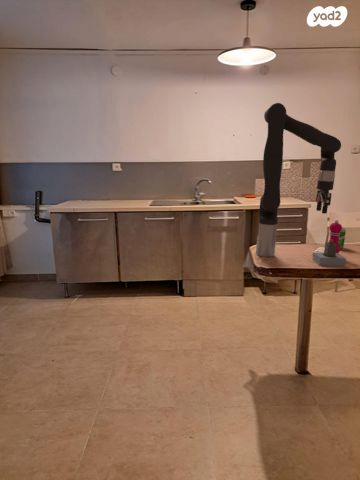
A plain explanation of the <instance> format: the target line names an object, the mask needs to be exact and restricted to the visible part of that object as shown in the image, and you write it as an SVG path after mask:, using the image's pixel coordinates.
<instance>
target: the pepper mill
mask: <svg viewBox="0 0 360 480" xmlns="http://www.w3.org/2000/svg"><path fill="white" fill-rule="evenodd" d="M342 227H343V226H342V224H340V223H339V219H336V220H334V222H333V223H331V224H330V225H329V240H328V242H327V243H330V239H332V240H333V243H335V244H336V245H337V248H336V253H339V254H340V252H341V249H340V245H339V242H338V238H339V236H340V231H341V230H342Z"/></svg>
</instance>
